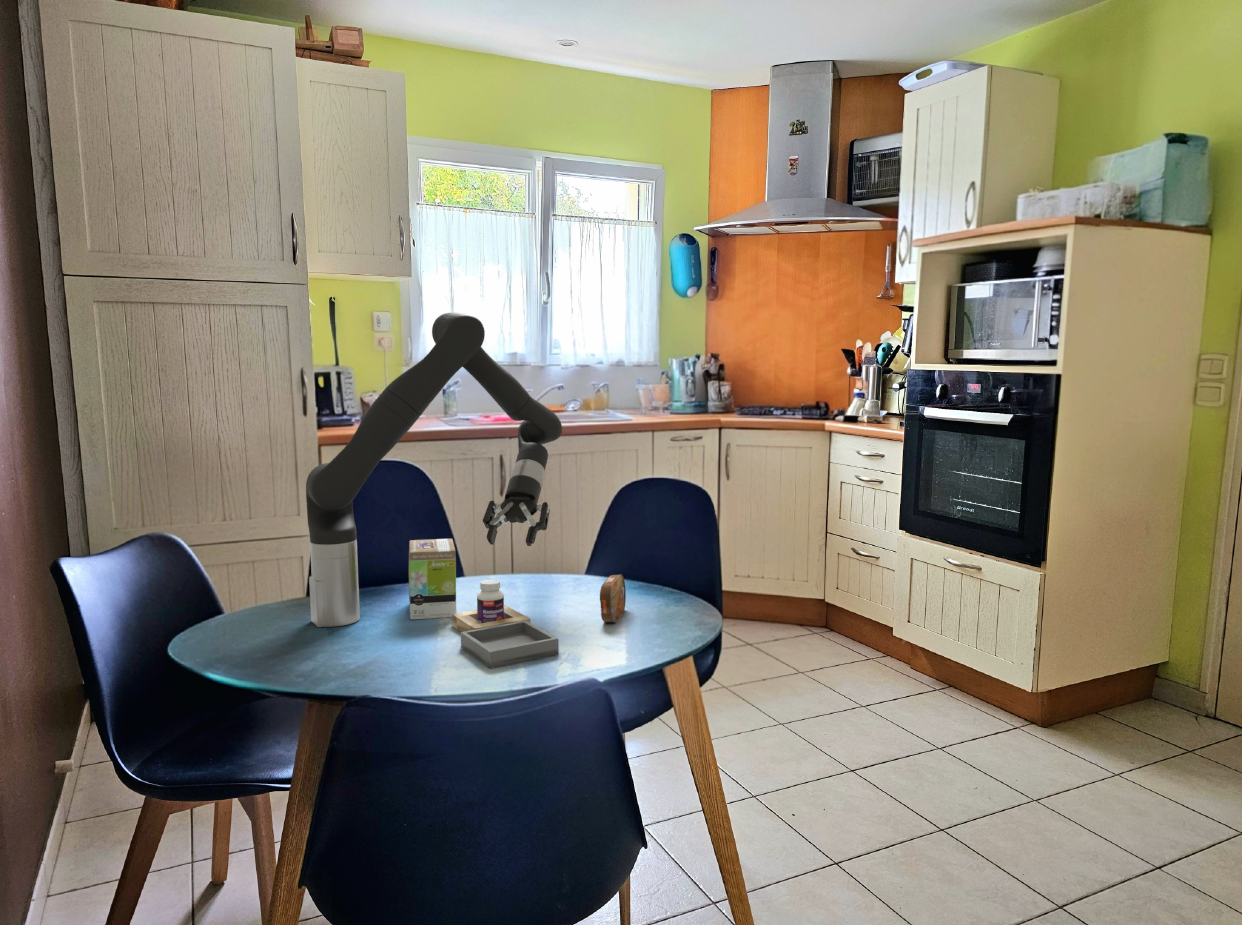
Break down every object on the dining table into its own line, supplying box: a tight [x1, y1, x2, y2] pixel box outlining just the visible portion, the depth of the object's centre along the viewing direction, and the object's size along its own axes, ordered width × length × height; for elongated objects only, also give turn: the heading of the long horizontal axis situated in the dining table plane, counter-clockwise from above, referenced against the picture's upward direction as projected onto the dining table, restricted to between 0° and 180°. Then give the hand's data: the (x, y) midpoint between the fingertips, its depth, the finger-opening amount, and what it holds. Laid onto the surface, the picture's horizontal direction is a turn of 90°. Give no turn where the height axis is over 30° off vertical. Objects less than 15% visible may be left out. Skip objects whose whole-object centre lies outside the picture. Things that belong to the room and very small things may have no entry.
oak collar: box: [451, 604, 532, 633], centre depth 167 cm, size 12×12×2 cm
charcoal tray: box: [460, 621, 560, 670], centre depth 153 cm, size 14×14×3 cm
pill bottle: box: [476, 579, 505, 623], centre depth 167 cm, size 5×5×10 cm
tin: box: [599, 574, 627, 624], centre depth 175 cm, size 15×3×8 cm, turn 168°
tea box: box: [408, 538, 457, 620], centre depth 181 cm, size 15×10×15 cm, turn 14°
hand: (509, 543), depth 177 cm, fingers open, 8 cm apart
